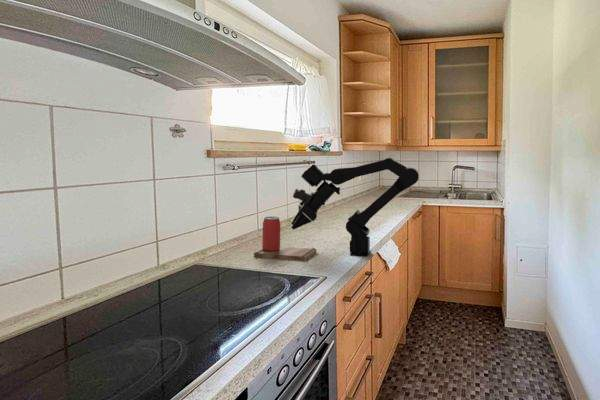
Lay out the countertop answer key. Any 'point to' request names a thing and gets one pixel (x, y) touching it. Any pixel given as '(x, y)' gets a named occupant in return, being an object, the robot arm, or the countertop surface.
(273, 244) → the beer can
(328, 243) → the countertop surface
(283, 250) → the walnut board
